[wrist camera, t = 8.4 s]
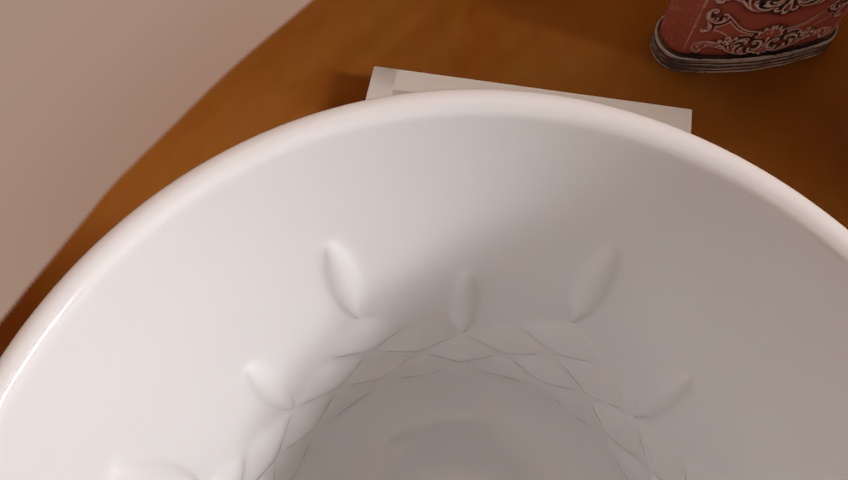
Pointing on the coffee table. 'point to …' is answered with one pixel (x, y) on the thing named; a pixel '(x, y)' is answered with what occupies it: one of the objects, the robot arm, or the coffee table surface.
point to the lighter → (743, 33)
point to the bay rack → (409, 81)
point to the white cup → (446, 310)
